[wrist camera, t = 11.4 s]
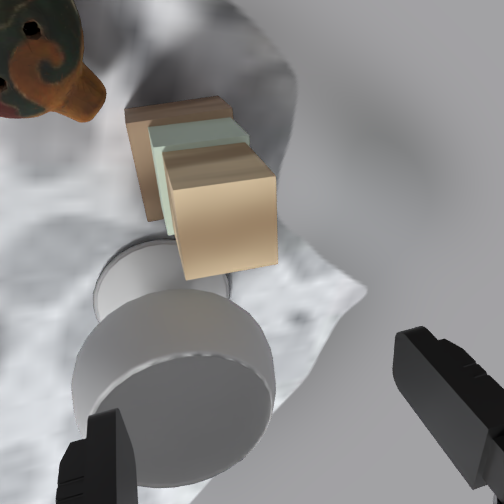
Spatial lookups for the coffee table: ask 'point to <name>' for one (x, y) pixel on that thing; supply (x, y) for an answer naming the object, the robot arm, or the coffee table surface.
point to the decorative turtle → (45, 62)
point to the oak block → (222, 209)
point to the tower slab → (158, 116)
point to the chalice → (174, 367)
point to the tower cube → (189, 147)
